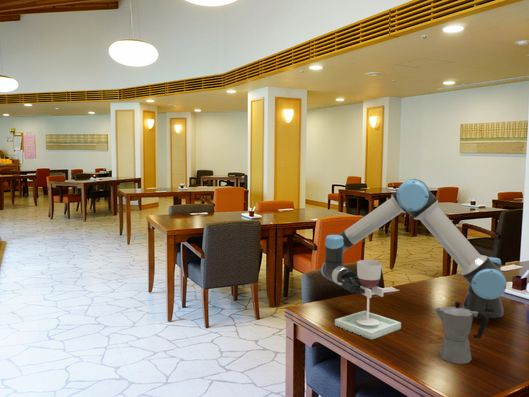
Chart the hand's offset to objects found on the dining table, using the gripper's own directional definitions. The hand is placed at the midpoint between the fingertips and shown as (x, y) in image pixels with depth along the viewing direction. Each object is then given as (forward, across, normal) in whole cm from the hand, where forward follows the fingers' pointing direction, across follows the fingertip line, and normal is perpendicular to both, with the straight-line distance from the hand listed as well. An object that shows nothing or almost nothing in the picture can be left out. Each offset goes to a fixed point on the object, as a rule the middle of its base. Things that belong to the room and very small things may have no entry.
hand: (376, 293), depth 164 cm
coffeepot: (+27, -13, -14) cm, 33 cm away
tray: (-5, 0, -14) cm, 15 cm away
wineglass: (-5, 0, -12) cm, 13 cm away
